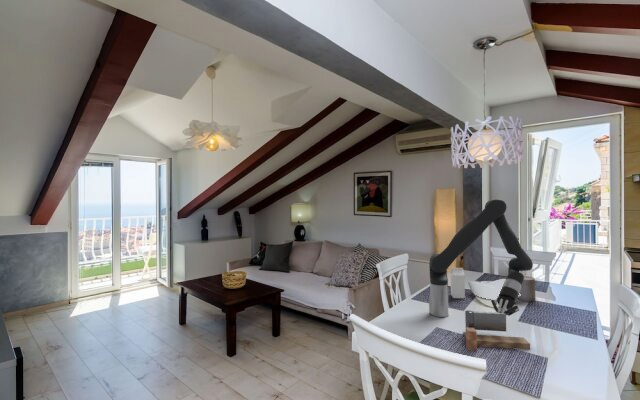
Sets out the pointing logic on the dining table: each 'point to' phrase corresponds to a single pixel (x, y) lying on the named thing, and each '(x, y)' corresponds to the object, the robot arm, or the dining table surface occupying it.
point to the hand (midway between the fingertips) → (498, 320)
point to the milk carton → (457, 283)
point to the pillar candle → (528, 289)
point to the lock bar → (485, 320)
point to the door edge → (493, 341)
